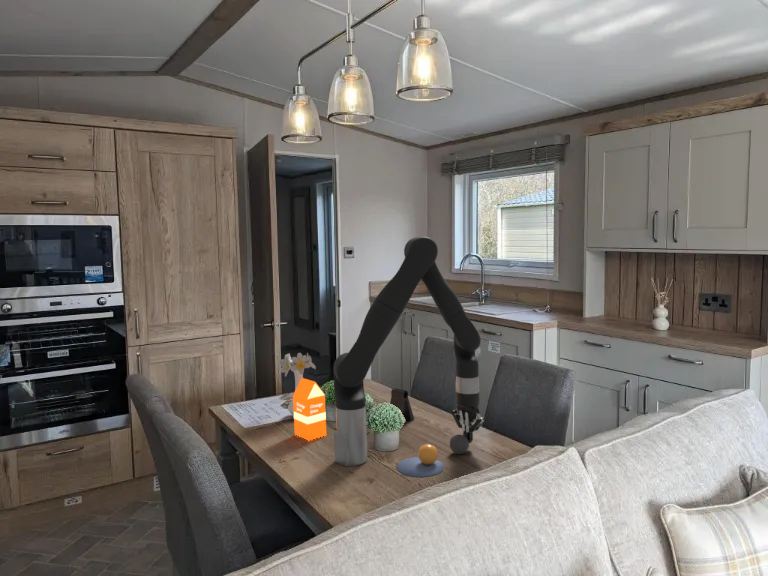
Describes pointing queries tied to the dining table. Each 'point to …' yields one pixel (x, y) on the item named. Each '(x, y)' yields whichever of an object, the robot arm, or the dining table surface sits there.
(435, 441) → the dining table surface
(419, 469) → the blue plate
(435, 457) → the orange ball
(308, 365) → the flower vase
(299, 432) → the orange juice
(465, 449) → the gray ball
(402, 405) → the door stopper
